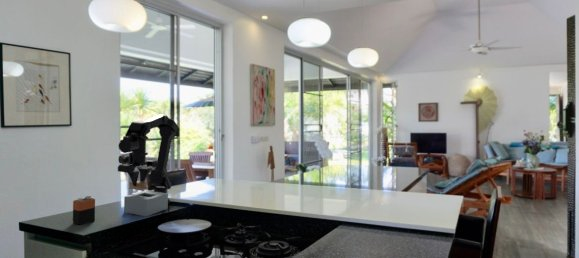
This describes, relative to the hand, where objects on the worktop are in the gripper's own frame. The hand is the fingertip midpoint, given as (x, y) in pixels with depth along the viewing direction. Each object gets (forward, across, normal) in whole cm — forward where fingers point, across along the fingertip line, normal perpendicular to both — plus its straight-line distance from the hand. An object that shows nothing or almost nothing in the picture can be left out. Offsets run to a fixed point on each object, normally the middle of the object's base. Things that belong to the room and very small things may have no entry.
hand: (138, 185), depth 172 cm
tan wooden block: (+2, 0, 0) cm, 2 cm away
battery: (+11, +23, -5) cm, 26 cm away
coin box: (+11, -2, +3) cm, 12 cm away
